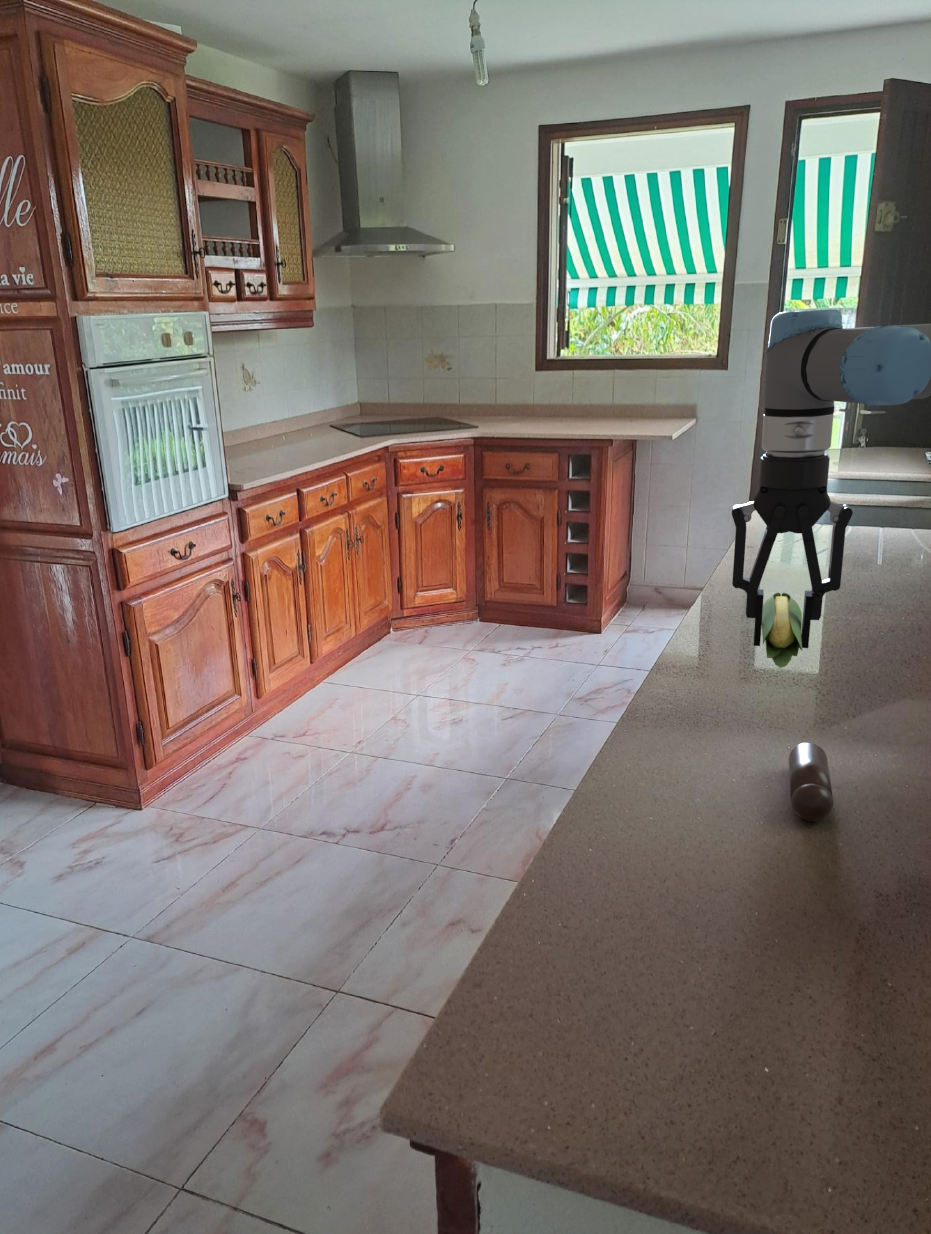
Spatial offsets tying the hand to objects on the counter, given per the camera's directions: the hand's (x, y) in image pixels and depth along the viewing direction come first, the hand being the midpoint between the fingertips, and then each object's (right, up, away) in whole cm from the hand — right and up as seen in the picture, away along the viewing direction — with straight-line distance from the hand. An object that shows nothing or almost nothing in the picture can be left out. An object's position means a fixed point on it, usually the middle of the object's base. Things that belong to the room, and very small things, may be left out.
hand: (780, 643), depth 120 cm
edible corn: (0, 0, 0) cm, 1 cm away
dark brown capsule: (-3, -17, -16) cm, 24 cm away
